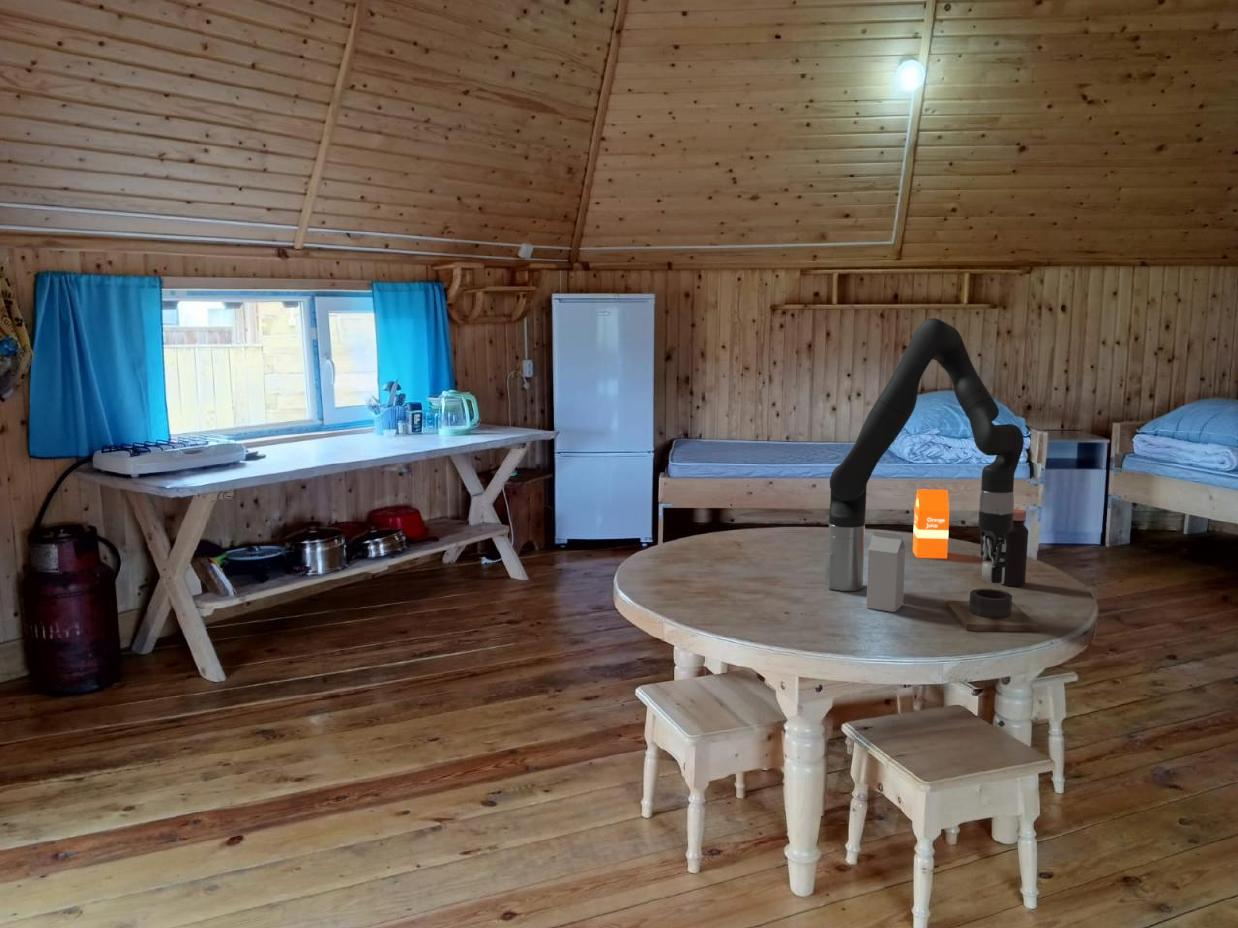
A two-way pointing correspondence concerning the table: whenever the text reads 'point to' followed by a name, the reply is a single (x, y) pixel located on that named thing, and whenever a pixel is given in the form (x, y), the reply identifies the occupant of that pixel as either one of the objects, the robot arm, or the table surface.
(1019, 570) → the bottle
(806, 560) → the table surface
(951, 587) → the table surface
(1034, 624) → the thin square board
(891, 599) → the milk carton
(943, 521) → the orange juice
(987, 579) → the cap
